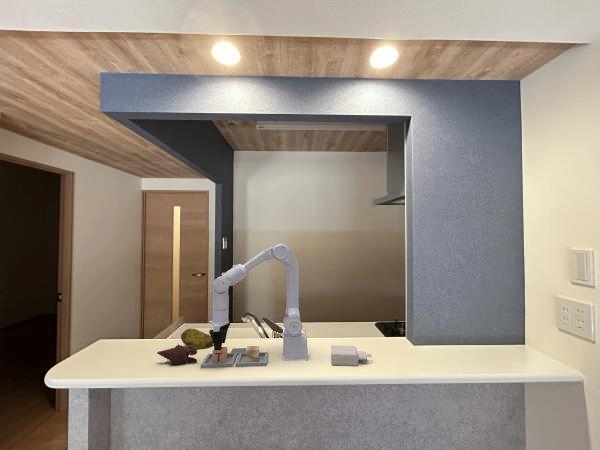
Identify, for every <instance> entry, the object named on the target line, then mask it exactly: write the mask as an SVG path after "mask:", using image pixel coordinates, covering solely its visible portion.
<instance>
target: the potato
mask: <svg viewBox="0 0 600 450" xmlns="http://www.w3.org/2000/svg"><path fill="white" fill-rule="evenodd" d="M180 340H181V341H182V343H183V344H184V345H185V347H186V346H187V347H190V348H191V349H196V350H202V349H203V350H204V349H208V348H210V347H212V346H213V340H212V337H211V335H210V334H209V333H205V332H203V331H200V330H198V329H197V328H187V329H185V330H184V331H183V332H182V333H181V335H180Z"/></svg>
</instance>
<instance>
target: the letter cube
mask: <svg viewBox="0 0 600 450" xmlns="http://www.w3.org/2000/svg"><path fill="white" fill-rule="evenodd" d="M227 353H228V346H222V347H221V350H214V349H213V350H212V352H211V354H212V363H225V362H226V360H227Z"/></svg>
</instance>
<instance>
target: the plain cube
mask: <svg viewBox="0 0 600 450" xmlns="http://www.w3.org/2000/svg"><path fill="white" fill-rule="evenodd" d="M246 348H247V349H246V362H258V361H259V352H260V345H247V347H246Z"/></svg>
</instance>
